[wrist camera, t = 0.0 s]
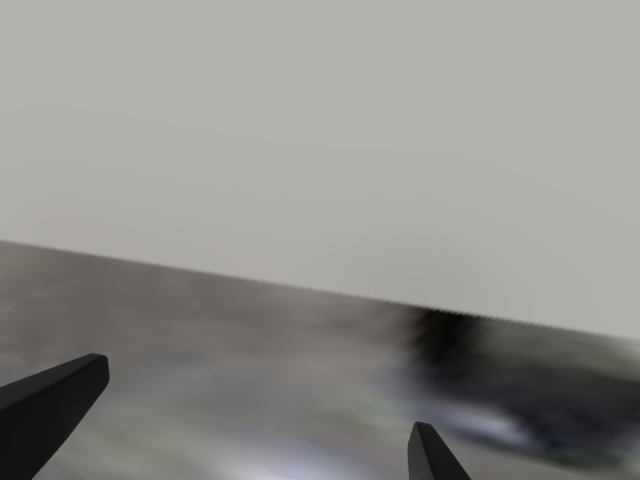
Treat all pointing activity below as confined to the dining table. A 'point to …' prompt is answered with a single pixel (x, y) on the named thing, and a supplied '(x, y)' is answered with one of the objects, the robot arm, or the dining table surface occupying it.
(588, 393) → the dining table surface
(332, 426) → the dining table surface
